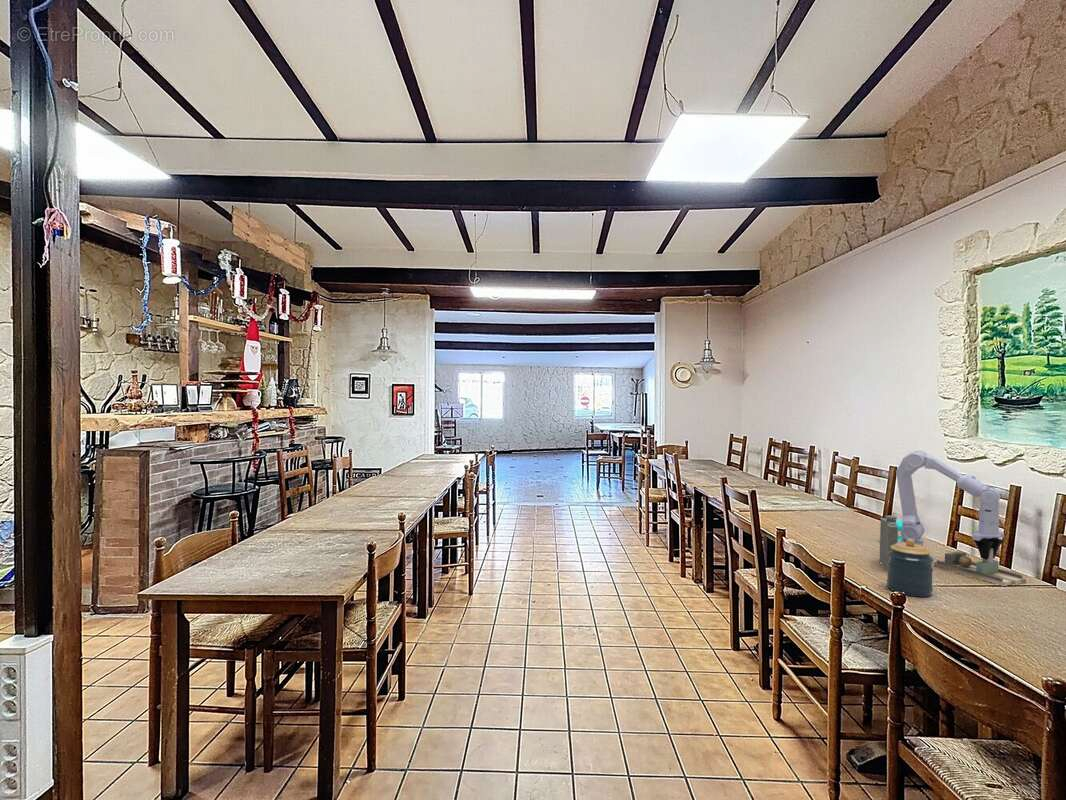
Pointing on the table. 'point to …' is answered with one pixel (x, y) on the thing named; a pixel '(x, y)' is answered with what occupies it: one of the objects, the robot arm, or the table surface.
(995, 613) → the table surface
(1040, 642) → the table surface
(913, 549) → the canister
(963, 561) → the walnut
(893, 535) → the hip flask
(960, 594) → the table surface
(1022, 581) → the base
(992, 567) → the sliding jaw
